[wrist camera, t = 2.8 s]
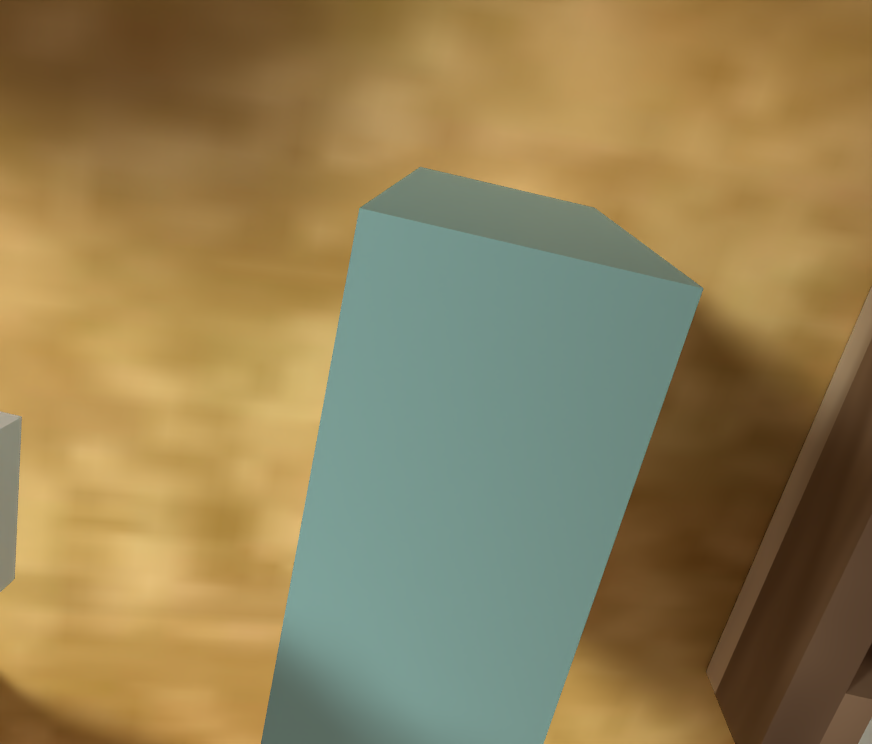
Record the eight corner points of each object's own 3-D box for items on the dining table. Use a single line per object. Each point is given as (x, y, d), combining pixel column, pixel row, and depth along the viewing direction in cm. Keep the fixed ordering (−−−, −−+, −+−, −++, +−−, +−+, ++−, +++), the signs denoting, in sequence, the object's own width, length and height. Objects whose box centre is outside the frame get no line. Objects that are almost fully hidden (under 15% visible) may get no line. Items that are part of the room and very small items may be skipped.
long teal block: (362, 483, 23) (243, 838, 11) (430, 159, 20) (359, 208, 8) (486, 512, 23) (490, 893, 12) (575, 193, 20) (704, 288, 8)
